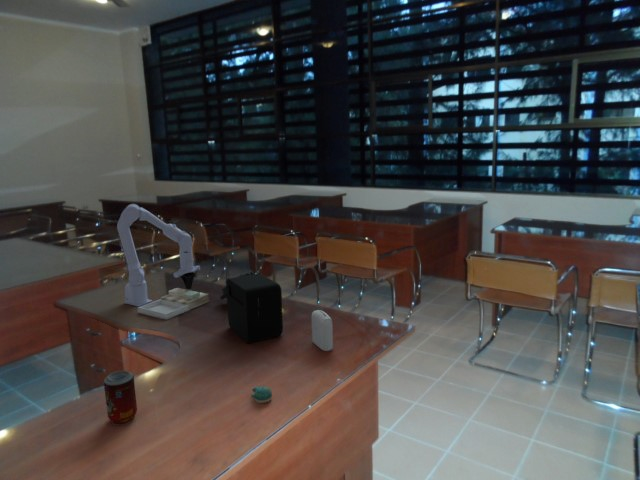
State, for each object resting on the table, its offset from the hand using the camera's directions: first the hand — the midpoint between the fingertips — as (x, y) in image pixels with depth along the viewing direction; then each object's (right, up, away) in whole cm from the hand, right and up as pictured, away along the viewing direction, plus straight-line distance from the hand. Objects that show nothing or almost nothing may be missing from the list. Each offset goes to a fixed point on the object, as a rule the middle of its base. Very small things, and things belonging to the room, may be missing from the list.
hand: (188, 288), depth 215 cm
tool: (+27, -6, -8) cm, 28 cm away
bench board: (+1, -6, -7) cm, 9 cm away
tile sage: (+4, -3, -10) cm, 11 cm away
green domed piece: (+44, -22, -85) cm, 98 cm away
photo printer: (+61, -15, -53) cm, 82 cm away
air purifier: (+37, -12, -40) cm, 55 cm away
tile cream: (-4, -2, -6) cm, 7 cm away
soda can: (+10, -24, -94) cm, 98 cm away
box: (-6, -8, -18) cm, 20 cm away
